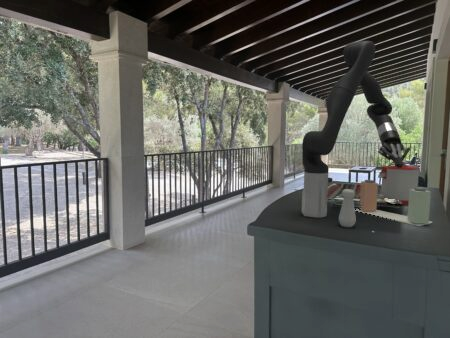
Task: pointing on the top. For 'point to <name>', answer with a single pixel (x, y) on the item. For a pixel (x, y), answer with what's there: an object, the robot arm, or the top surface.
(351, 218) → the salt shaker
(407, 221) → the button board
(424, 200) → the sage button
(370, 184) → the light brown tall block
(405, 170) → the red roofed toy house
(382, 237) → the top surface
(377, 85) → the robot arm
